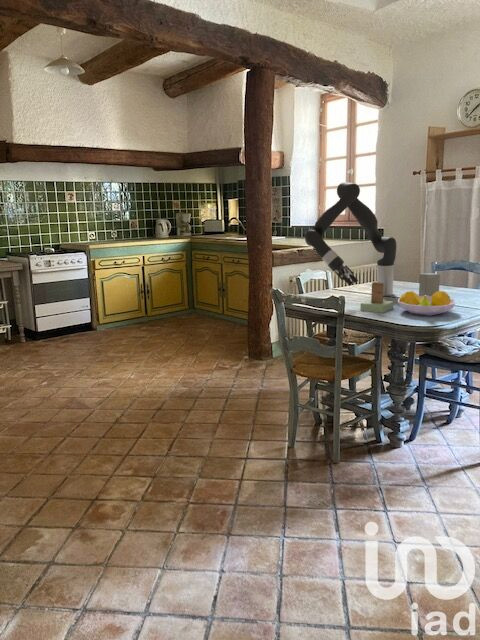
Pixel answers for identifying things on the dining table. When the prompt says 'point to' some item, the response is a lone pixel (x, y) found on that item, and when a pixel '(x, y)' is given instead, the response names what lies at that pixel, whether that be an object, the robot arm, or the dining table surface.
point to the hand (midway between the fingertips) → (354, 283)
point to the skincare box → (428, 284)
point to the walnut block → (377, 292)
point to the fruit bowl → (426, 303)
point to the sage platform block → (377, 306)
